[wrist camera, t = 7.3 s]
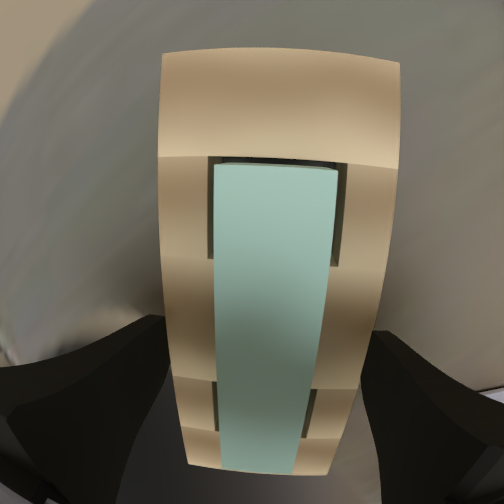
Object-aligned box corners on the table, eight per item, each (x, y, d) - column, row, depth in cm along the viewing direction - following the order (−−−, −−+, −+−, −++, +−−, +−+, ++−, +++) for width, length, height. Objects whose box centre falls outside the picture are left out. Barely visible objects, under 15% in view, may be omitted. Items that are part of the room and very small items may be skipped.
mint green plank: (292, 400, 16) (291, 474, 11) (237, 396, 16) (221, 468, 11) (316, 164, 12) (337, 170, 7) (241, 160, 12) (214, 164, 7)
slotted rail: (324, 444, 17) (326, 475, 14) (197, 434, 17) (188, 463, 15) (379, 78, 11) (399, 62, 8) (184, 70, 11) (162, 53, 9)
